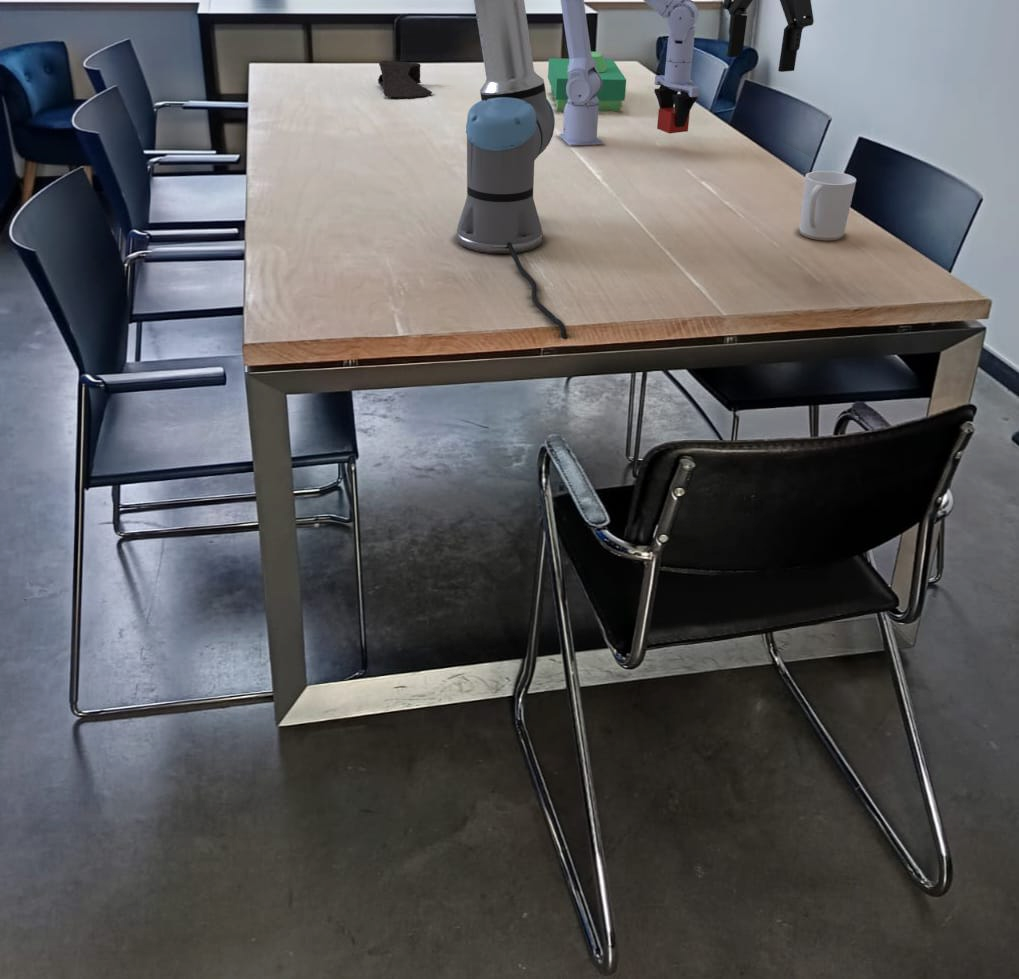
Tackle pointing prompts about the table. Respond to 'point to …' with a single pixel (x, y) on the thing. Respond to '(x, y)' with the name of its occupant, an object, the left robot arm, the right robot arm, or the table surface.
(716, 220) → the table surface
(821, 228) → the mug
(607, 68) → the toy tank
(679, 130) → the block
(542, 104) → the left robot arm
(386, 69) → the axe head
